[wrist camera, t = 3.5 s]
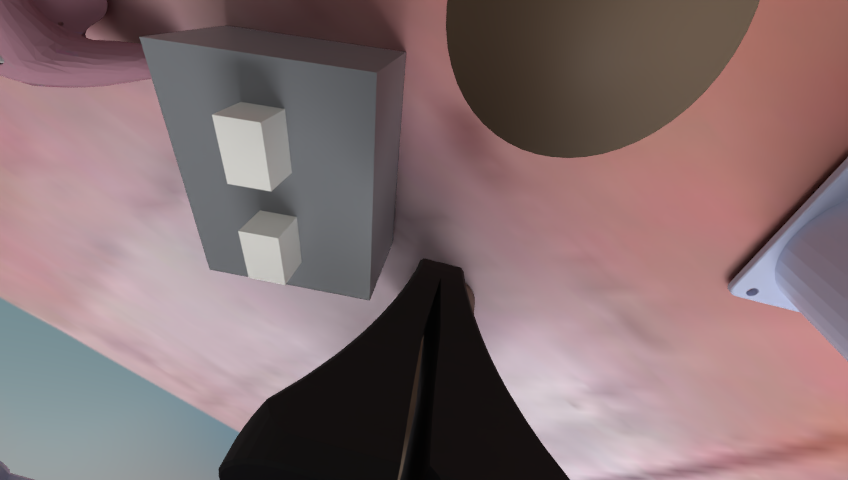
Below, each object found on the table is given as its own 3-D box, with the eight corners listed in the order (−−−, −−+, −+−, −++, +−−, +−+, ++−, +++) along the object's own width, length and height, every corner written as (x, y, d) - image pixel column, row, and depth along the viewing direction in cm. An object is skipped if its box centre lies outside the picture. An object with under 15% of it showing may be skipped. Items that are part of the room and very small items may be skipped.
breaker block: (407, 51, 15) (362, 83, 10) (393, 241, 21) (359, 325, 16) (229, 25, 16) (95, 41, 11) (262, 217, 22) (187, 291, 16)
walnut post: (618, -58, 12) (866, -156, 4) (564, 78, 15) (652, 183, 7) (493, -89, 12) (494, -243, 4) (460, 52, 15) (422, 125, 7)
